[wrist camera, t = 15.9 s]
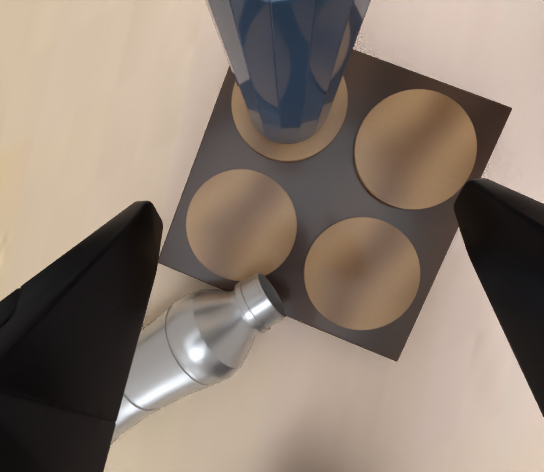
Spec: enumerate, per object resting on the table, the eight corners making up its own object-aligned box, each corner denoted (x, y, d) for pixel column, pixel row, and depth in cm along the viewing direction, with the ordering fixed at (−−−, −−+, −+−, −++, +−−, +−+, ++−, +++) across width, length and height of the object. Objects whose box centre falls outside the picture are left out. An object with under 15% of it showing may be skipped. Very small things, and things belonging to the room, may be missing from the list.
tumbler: (348, 97, 19) (467, -151, 6) (291, 161, 19) (295, 50, 7) (286, 41, 19) (280, -315, 6) (230, 106, 19) (124, -105, 7)
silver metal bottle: (29, 373, 21) (237, 237, 19) (102, 400, 25) (282, 289, 23) (-27, 476, 16) (254, 301, 14) (77, 491, 19) (308, 355, 18)
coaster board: (496, 116, 20) (518, 105, 18) (389, 352, 21) (399, 365, 20) (252, 25, 21) (248, 6, 19) (165, 259, 22) (154, 263, 20)
